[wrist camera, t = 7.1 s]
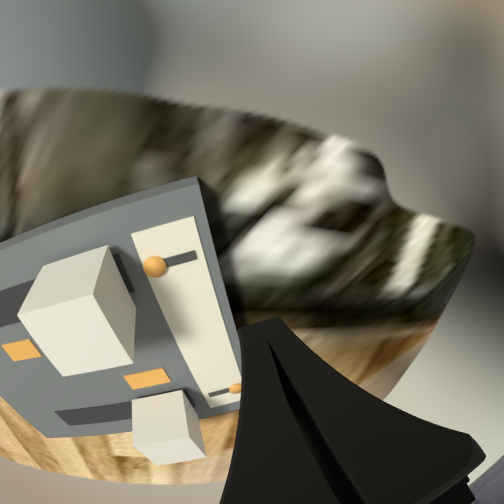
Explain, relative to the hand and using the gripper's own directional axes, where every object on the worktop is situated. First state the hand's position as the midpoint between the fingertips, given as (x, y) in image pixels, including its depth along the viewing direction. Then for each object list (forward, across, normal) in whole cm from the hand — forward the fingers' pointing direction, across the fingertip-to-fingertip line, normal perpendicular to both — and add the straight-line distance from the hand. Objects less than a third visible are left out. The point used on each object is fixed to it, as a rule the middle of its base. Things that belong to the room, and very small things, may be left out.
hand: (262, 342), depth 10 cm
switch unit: (+8, +12, +6) cm, 16 cm away
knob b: (+7, +7, 0) cm, 10 cm away
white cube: (+7, +7, +12) cm, 16 cm away
